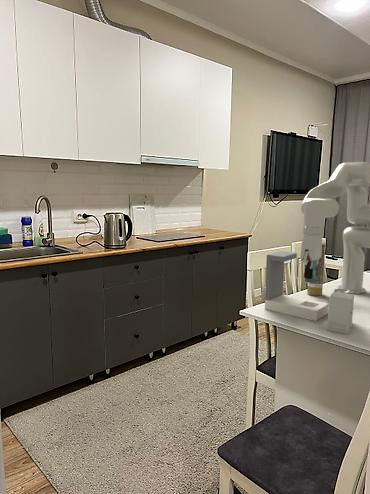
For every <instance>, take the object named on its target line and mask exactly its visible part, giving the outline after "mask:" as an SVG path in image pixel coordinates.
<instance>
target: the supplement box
mask: <svg viewBox="0 0 370 494" xmlns="http://www.w3.org/2000/svg"><path fill="white" fill-rule="evenodd" d="M328 297H329V299H328V304H329V307H328V314H327V325H326V327H327V328H326V330H327V331H330V332H335V333H340V334H343V335H344V334H345V335H349V334H350V332H351V330H352V325H353V314H354V301H355V300H354V299H355V294H353V293H350V294H346V293H338V292H334V291H333V292H331V294H330V295H329V296H328Z"/></svg>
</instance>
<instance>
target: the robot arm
mask: <svg viewBox="0 0 370 494" xmlns="http://www.w3.org/2000/svg"><path fill="white" fill-rule="evenodd" d="M365 187H370V162H367V161H348V162H347V161H346V162H343V163H340V164H338V165H337V166H336V168H335V169H334V171H333V173H332V174H331V176H330V177H329V179H328V180H327V181H325V182H323V183H321V184H320V185H317V186H315V187H314V188H312V189H310V190H309V191H308V192H307V194H306V195H305V197H304V199H302V202H301V206H300V210H301V213H302V214H303V228H302V229H303V231H302V241H301V246H300V247H301V248H300V260H301V261H302V264H303V270H304V271H303V273H304V274H303V277H304V279H305V278H308V279H312V277H313V269H312V265H313V261H314V260H317V269H316V277H317V272H318V262H319V259H320V258H321V254H322V242H323V236H324V232H325V231H324V230H325V219H326V218H327V219H329V218H334V217H336V216H337V215H338V214H339V211H340V206H339V205H340V204H339V202H338V201H337V200H336V199H335V198H338V197H341V196H343V195H344V194H345V193H346V195H347V202H346V203H347V204H346V205H347V206H346V219H347V220H346V221H347V222H348V223H350V224H353V225H367V227H366V226H347V227H345V228H344V229H343V232H342V241H343V243H342V244H343V257H342V272H341V285H338V286H337V289H345V290H348V291H350V294H353V295H355V294H358V295H359V294H365V293H366V291H367V290H366V288H364V286H363V283H364V275H365V273H364V271H365V259H366V256H365V253H364V251H363V249H362V248H367V249H370V227H368V226H370V204H368V191H367V189H366V188H365ZM308 259H310V260H311V261H310V260H308ZM309 262H310V263H309Z"/></svg>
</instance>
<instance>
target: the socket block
mask: <svg viewBox="0 0 370 494" xmlns="http://www.w3.org/2000/svg"><path fill="white" fill-rule="evenodd" d="M297 255H298V254H297V252H291V251H284V250H283V251H282V250H278V251H275V252H272V253H268V254H266V262H265V264H266V265H265V268H266V269H265V291H264V292H265V295H264V310H269V311H272V312H277V313H281V314H285V315H290V316H293V317H294V316H295V317H297V318H303V319H307V320H311V321H315V322H317V321H319V320H320V319H322V318H323V317H325V316H326V315H328V310H329V302H328V303H327V302H322V301H318V300H312V299H308V298H302V297H297V296H293V295H288V294H284V275H285V273H284V272H285V262H288V261H291V260H294V259H297V257H298V256H297Z"/></svg>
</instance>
